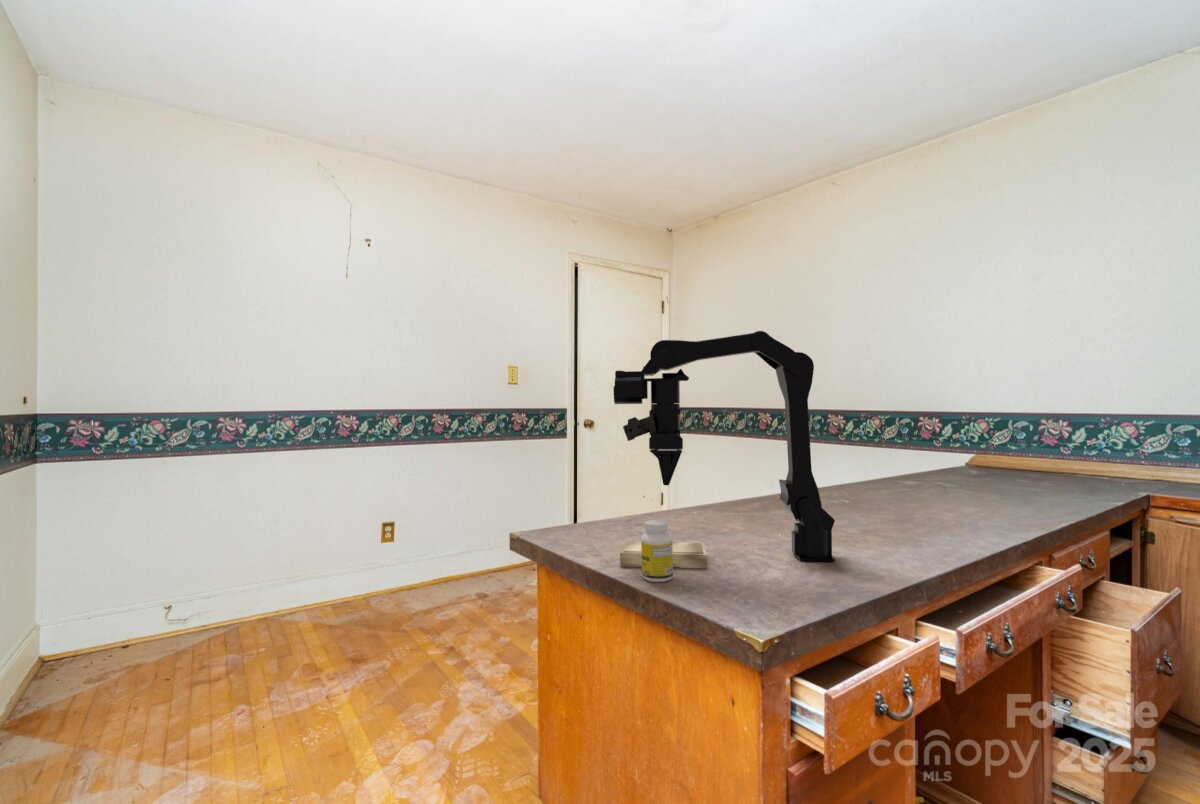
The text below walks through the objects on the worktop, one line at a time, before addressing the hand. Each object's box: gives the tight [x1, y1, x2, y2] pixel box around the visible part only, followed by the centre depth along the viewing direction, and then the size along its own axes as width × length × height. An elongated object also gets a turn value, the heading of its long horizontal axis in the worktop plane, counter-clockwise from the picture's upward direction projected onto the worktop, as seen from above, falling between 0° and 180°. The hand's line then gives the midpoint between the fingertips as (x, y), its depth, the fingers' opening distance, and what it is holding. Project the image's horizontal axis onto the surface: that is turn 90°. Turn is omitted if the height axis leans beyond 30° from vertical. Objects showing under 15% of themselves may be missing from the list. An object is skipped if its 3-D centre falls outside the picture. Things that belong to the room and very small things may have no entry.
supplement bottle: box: [640, 519, 674, 583], centre depth 94 cm, size 5×5×10 cm
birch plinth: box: [619, 541, 708, 569], centre depth 104 cm, size 16×8×3 cm, turn 83°
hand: (666, 481), depth 109 cm, fingers open, 9 cm apart
